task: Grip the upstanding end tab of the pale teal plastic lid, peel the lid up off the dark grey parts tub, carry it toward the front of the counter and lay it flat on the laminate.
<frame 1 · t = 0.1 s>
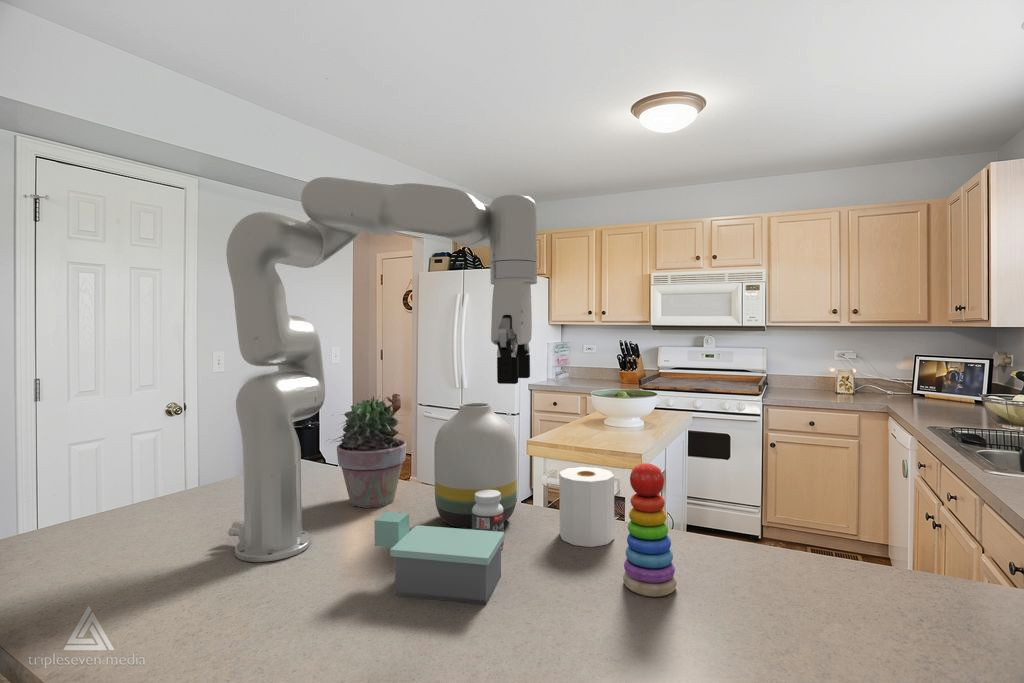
hand: (514, 380, 87), 31 cm above the counter, fingers open, 9 cm apart
vase: (476, 521, 111), on the counter
stacking toy: (649, 587, 82), on the counter
toilet paper: (586, 537, 102), on the counter
pill bottle: (487, 549, 97), on the counter
lid: (449, 546, 82), point 6 cm above the counter, touching tub
potted plant: (368, 502, 124), on the counter
tub: (450, 585, 82), on the counter
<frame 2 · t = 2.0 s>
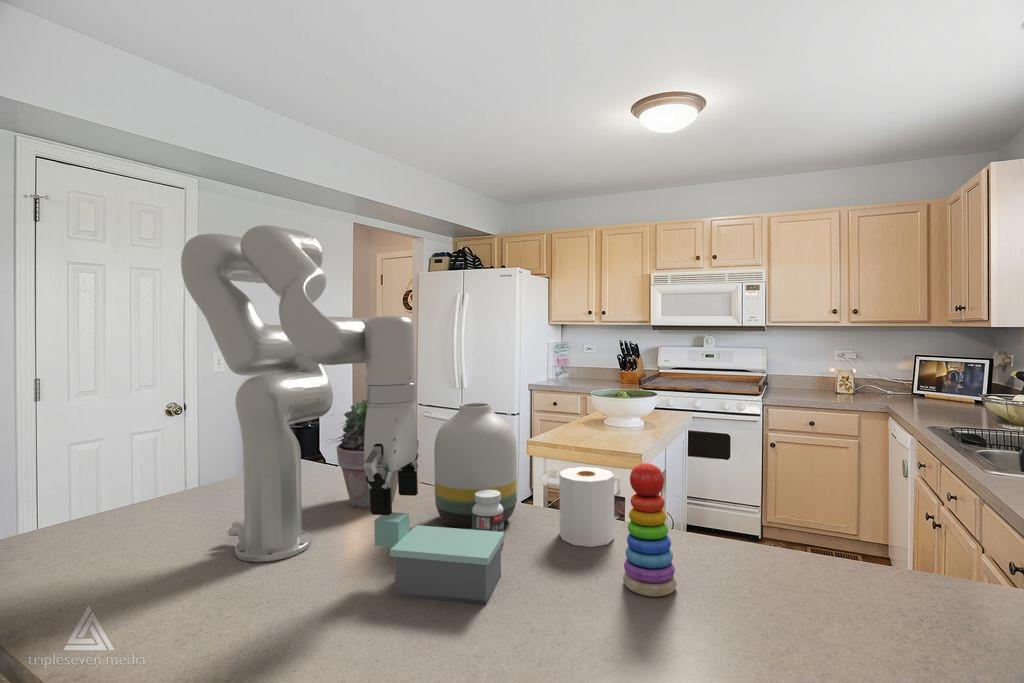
hand: (395, 504, 84), 12 cm above the counter, fingers open, 9 cm apart
nothing on the counter moved.
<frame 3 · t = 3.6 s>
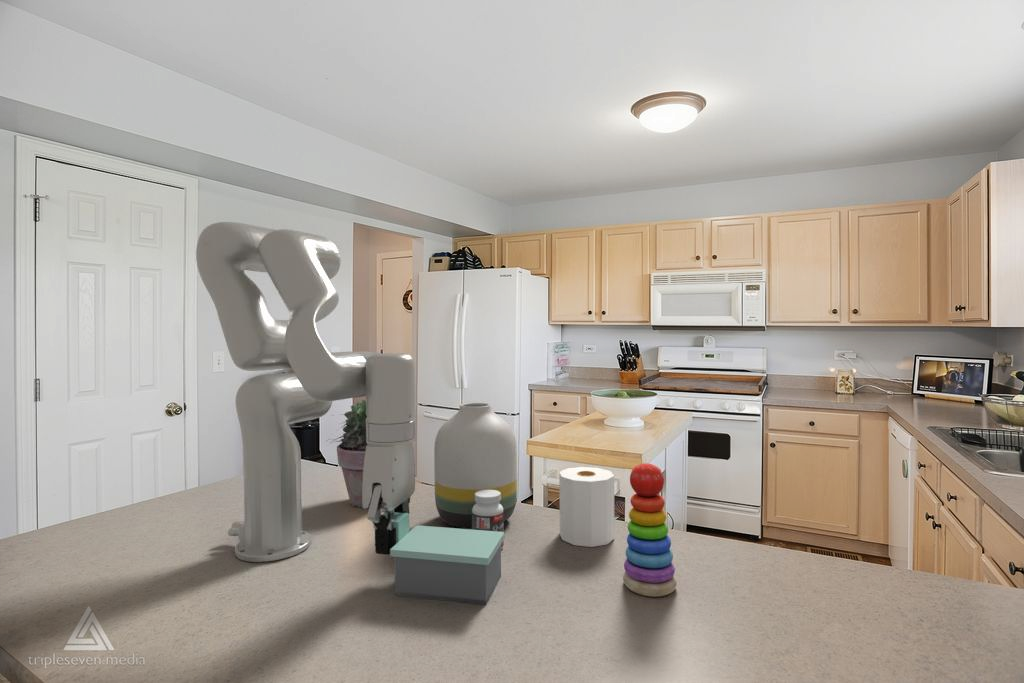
hand: (392, 546, 84), 5 cm above the counter, fingers closed on lid, 4 cm apart
lid: (449, 546, 82), point 6 cm above the counter, touching gripper, tub
everything else where it was.
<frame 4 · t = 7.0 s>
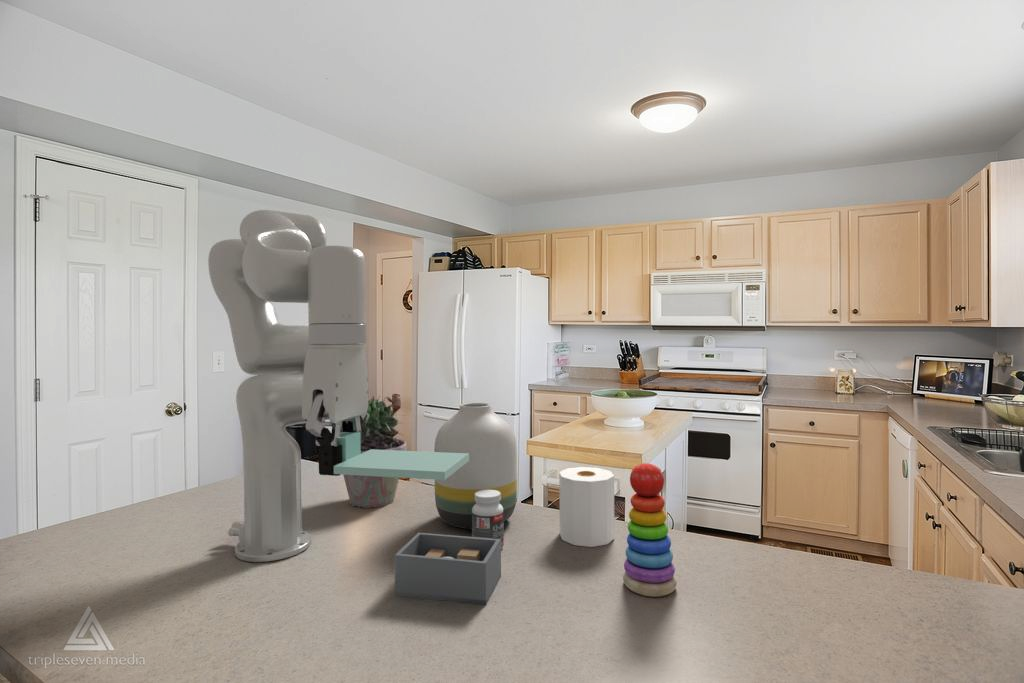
hand: (340, 468, 74), 20 cm above the counter, fingers closed on lid, 4 cm apart
lid: (404, 467, 72), point 21 cm above the counter, touching gripper
everything else where it was.
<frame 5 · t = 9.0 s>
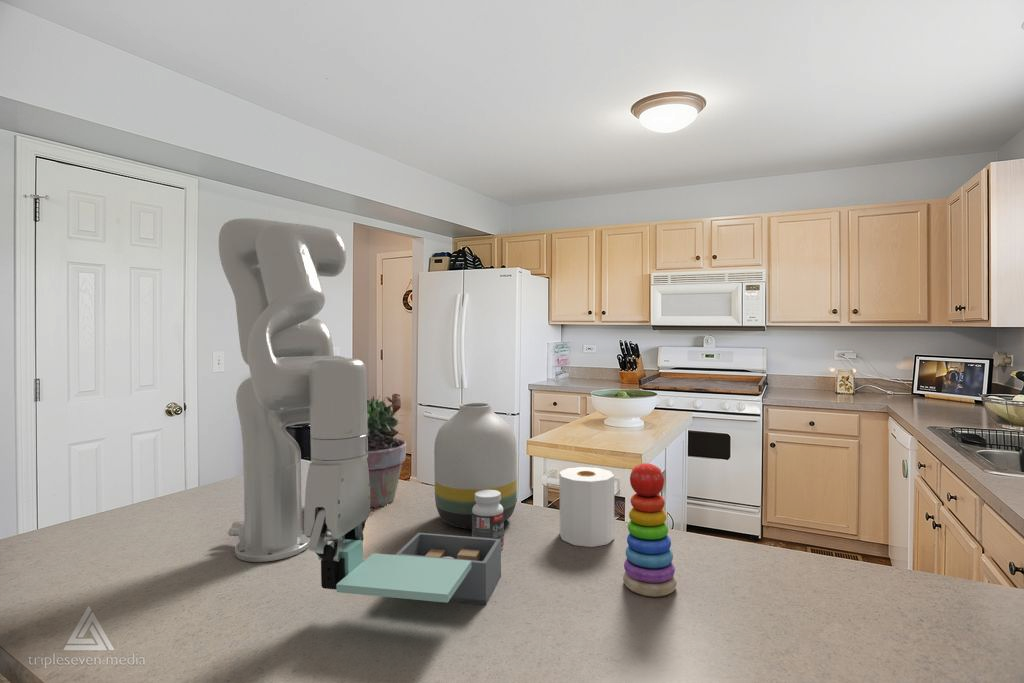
hand: (342, 578, 74), 5 cm above the counter, fingers closed on lid, 4 cm apart
lid: (407, 579, 72), point 6 cm above the counter, touching gripper
everything else where it was.
when the fingers open (1 cm above the counter, at t = 10.5 s): lid drops 2 cm, on the counter.
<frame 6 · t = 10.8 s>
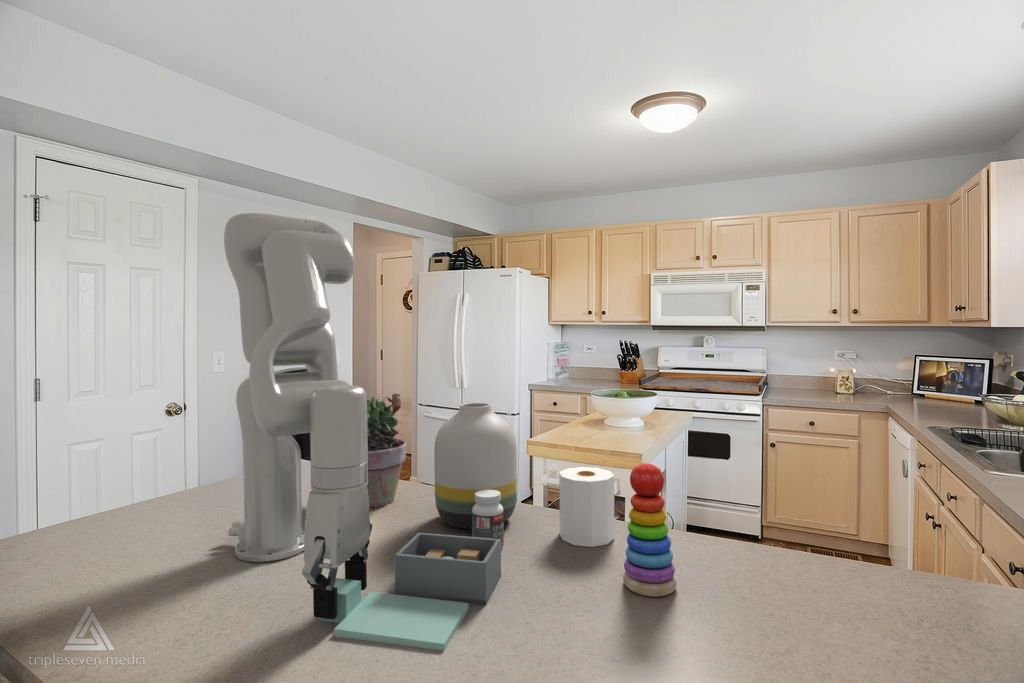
hand: (341, 601, 74), 2 cm above the counter, fingers open, 7 cm apart
lid: (404, 622, 72), on the counter
everything else where it was.
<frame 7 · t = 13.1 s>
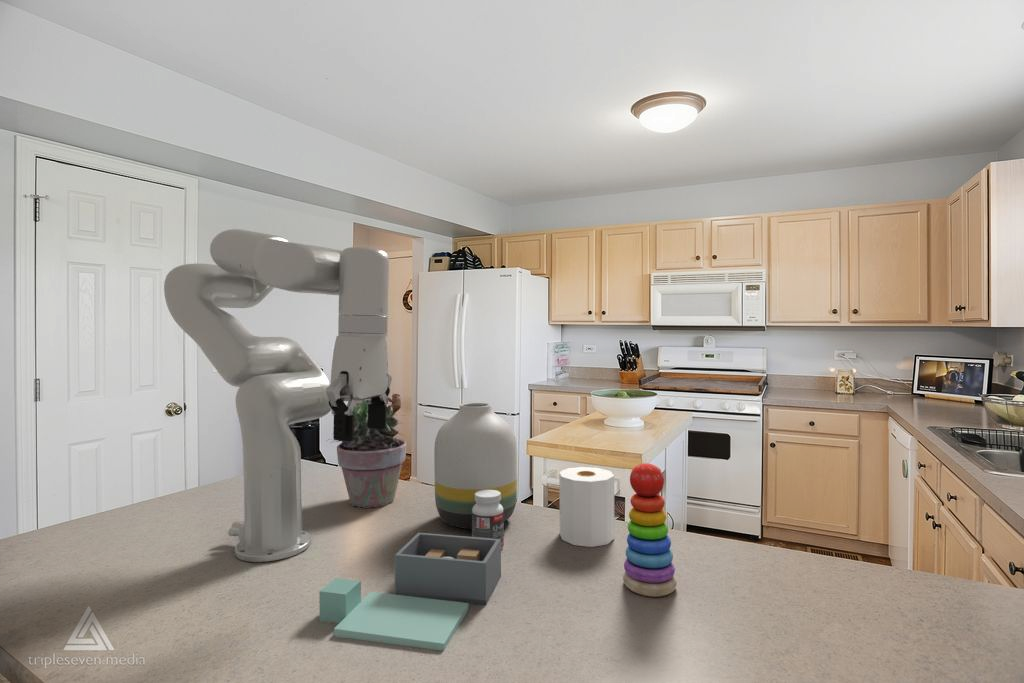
hand: (361, 434, 85), 23 cm above the counter, fingers open, 9 cm apart
nothing on the counter moved.
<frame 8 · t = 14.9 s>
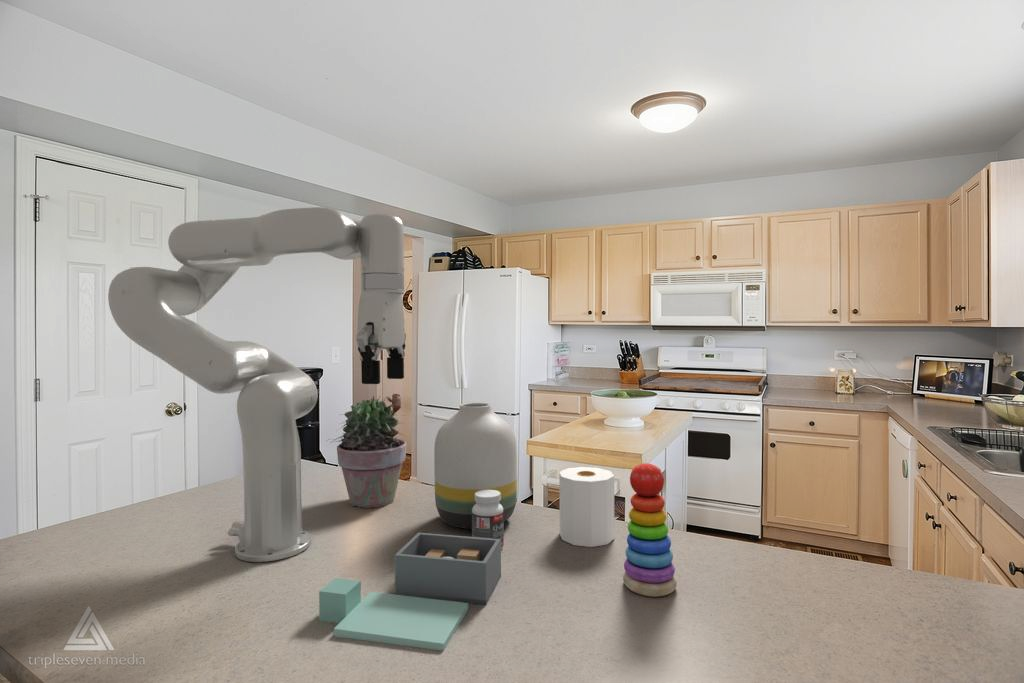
hand: (383, 381, 96), 30 cm above the counter, fingers open, 9 cm apart
nothing on the counter moved.
at the end: lid inside the target area (1.7 cm from its centre), on the counter; lid tilted 0°; the gripper is holding nothing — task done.
